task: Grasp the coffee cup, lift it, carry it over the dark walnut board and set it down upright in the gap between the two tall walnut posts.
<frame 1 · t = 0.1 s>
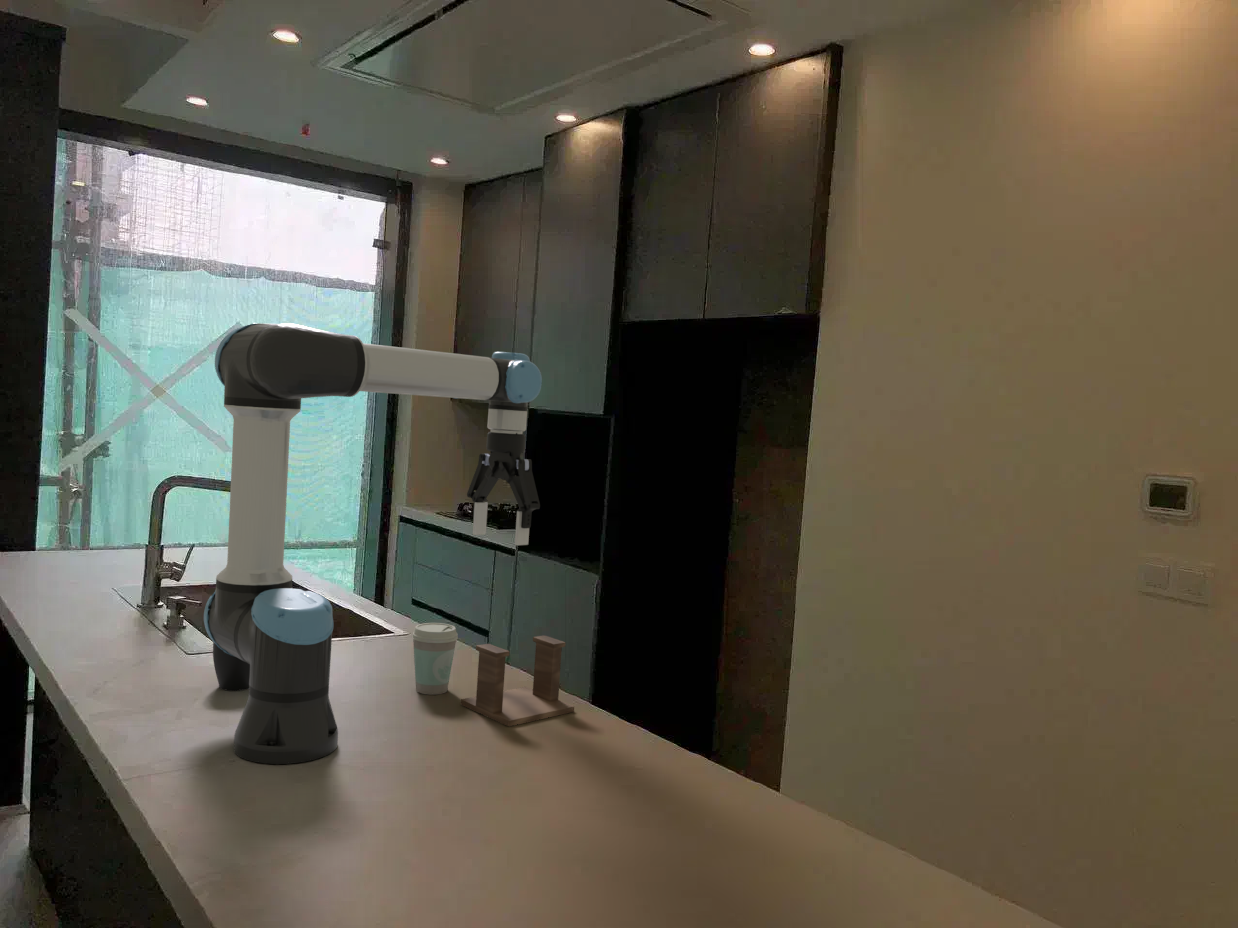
hand: (499, 539, 192), 28 cm above the table, fingers open, 13 cm apart
mug: (245, 685, 179), on the table
headboard cradle: (517, 708, 177), on the table
coffee cup: (431, 691, 184), on the table
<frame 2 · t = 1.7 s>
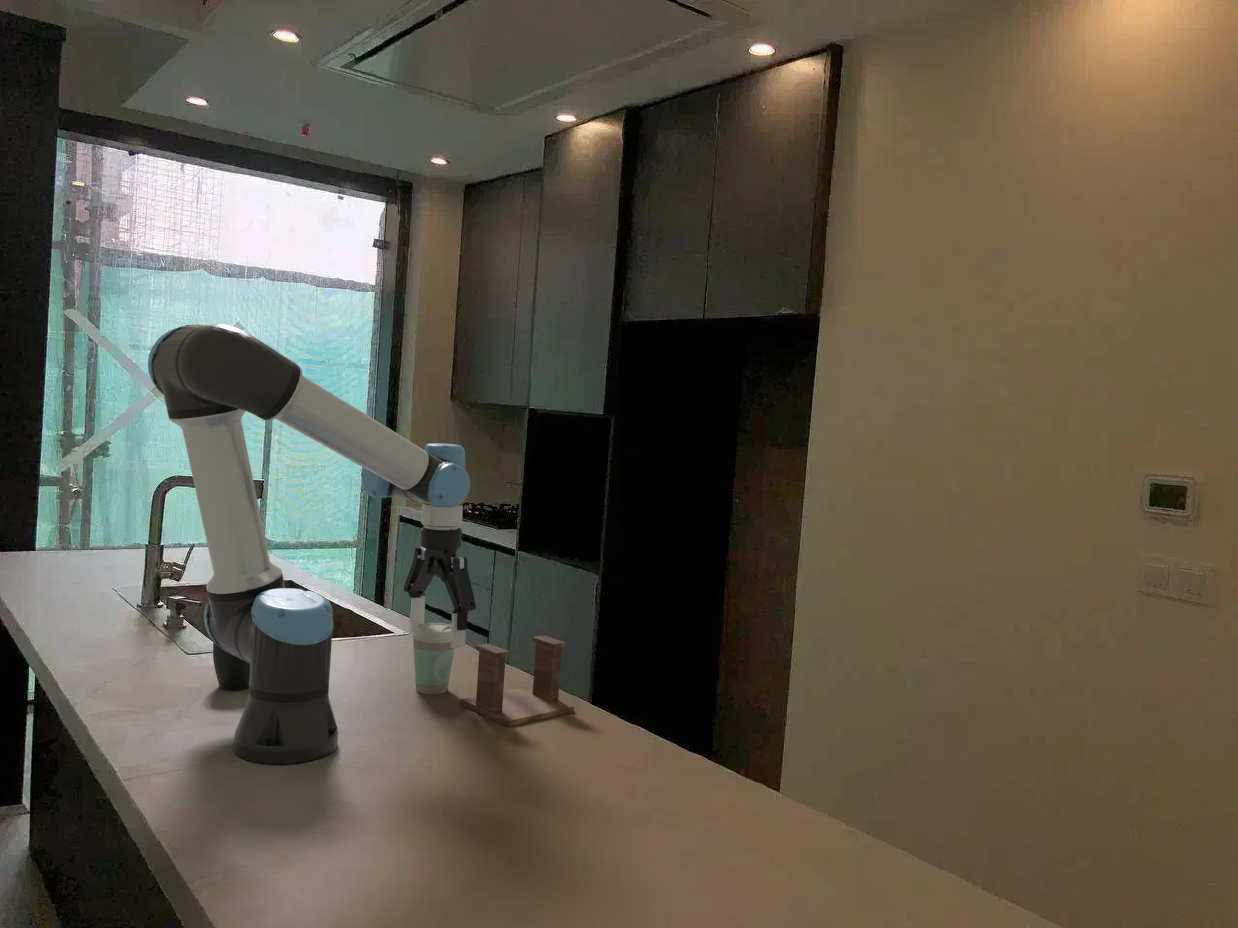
hand: (436, 638, 183), 10 cm above the table, fingers open, 13 cm apart
nothing on the table moved.
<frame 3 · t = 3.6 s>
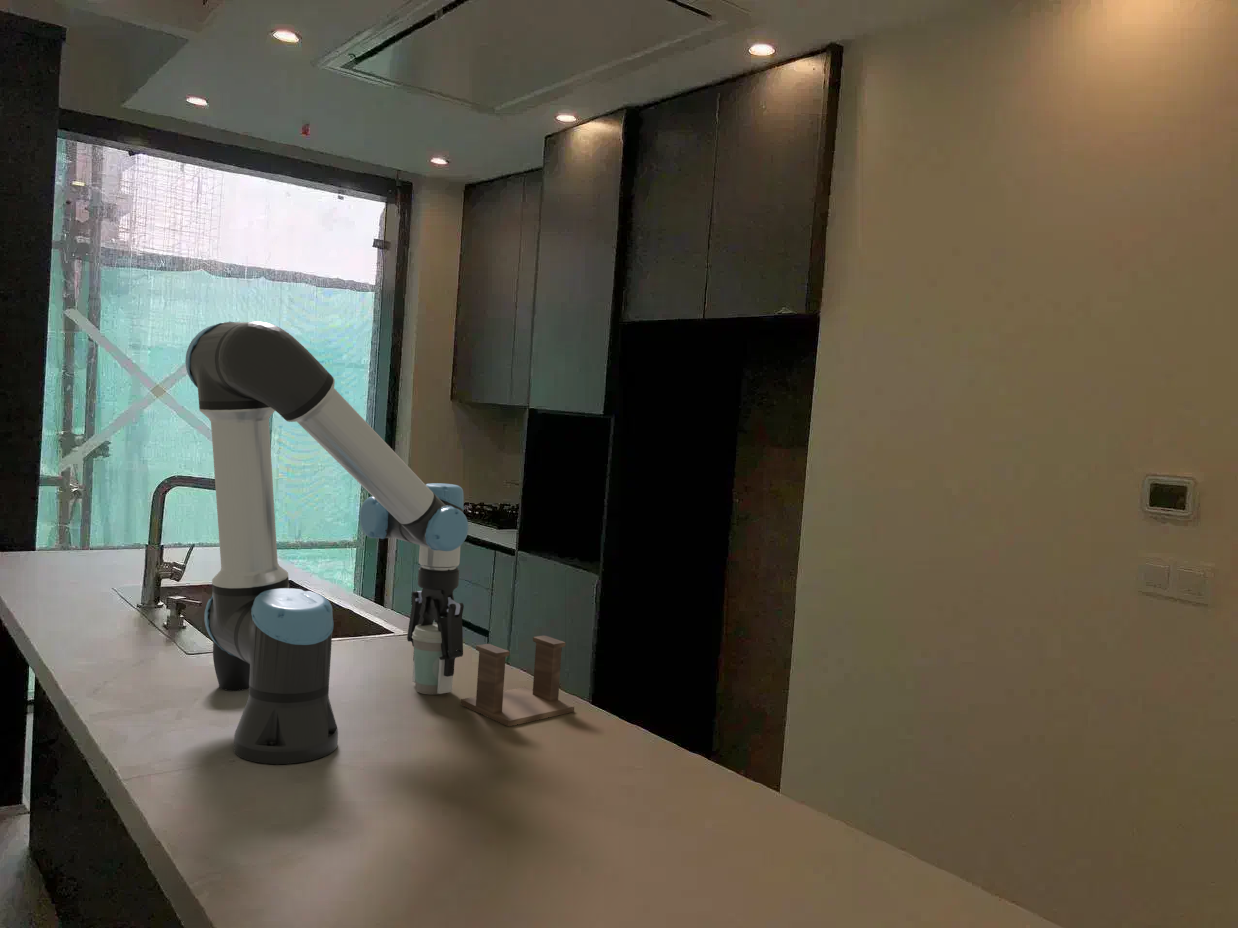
hand: (431, 686, 184), 1 cm above the table, fingers closed on coffee cup, 8 cm apart
coffee cup: (431, 691, 184), on the table, touching gripper
everything else where it was.
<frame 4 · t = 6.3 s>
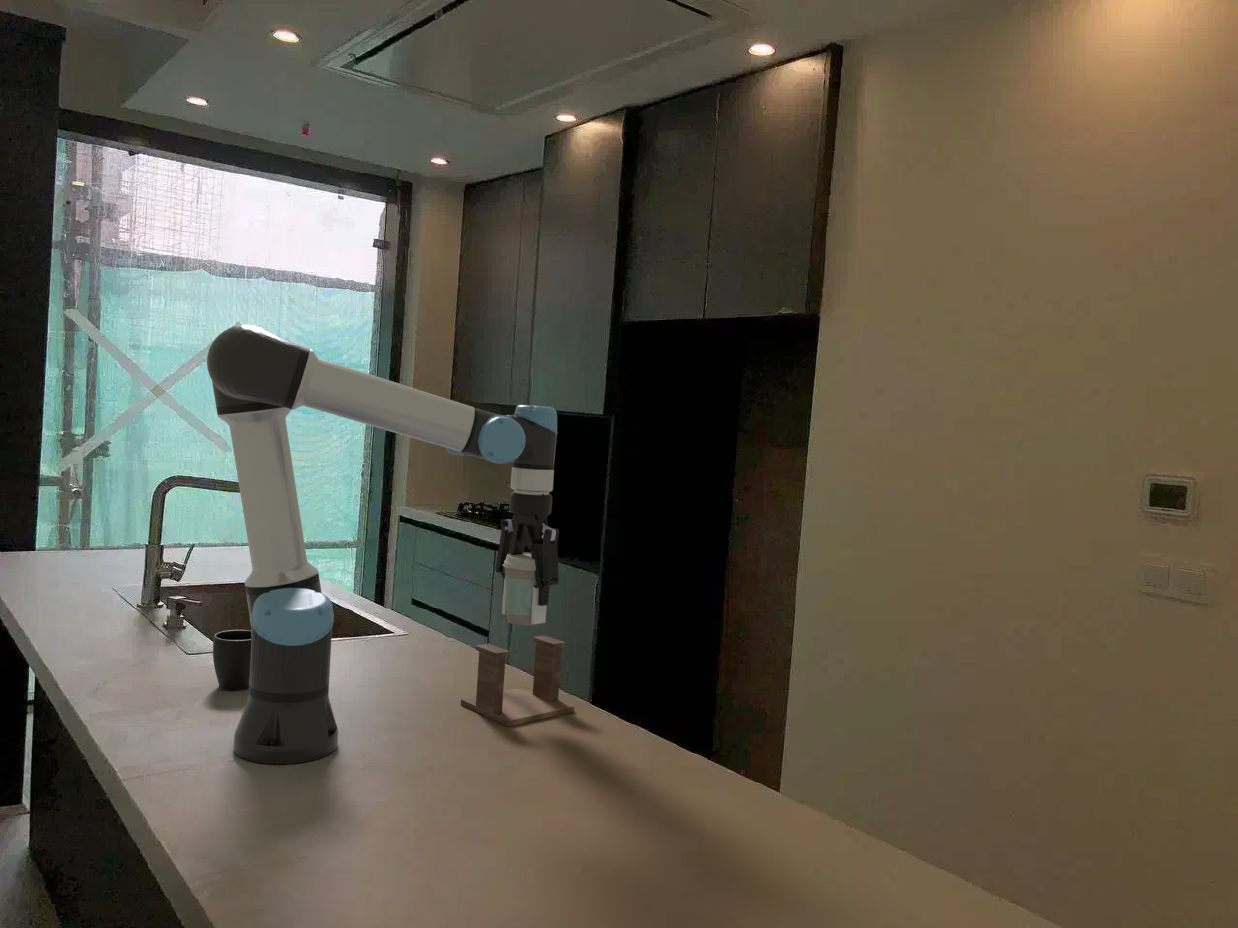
hand: (523, 618, 176), 17 cm above the table, fingers closed on coffee cup, 8 cm apart
coffee cup: (523, 622, 176), point 16 cm above the table, touching gripper
everything else where it was.
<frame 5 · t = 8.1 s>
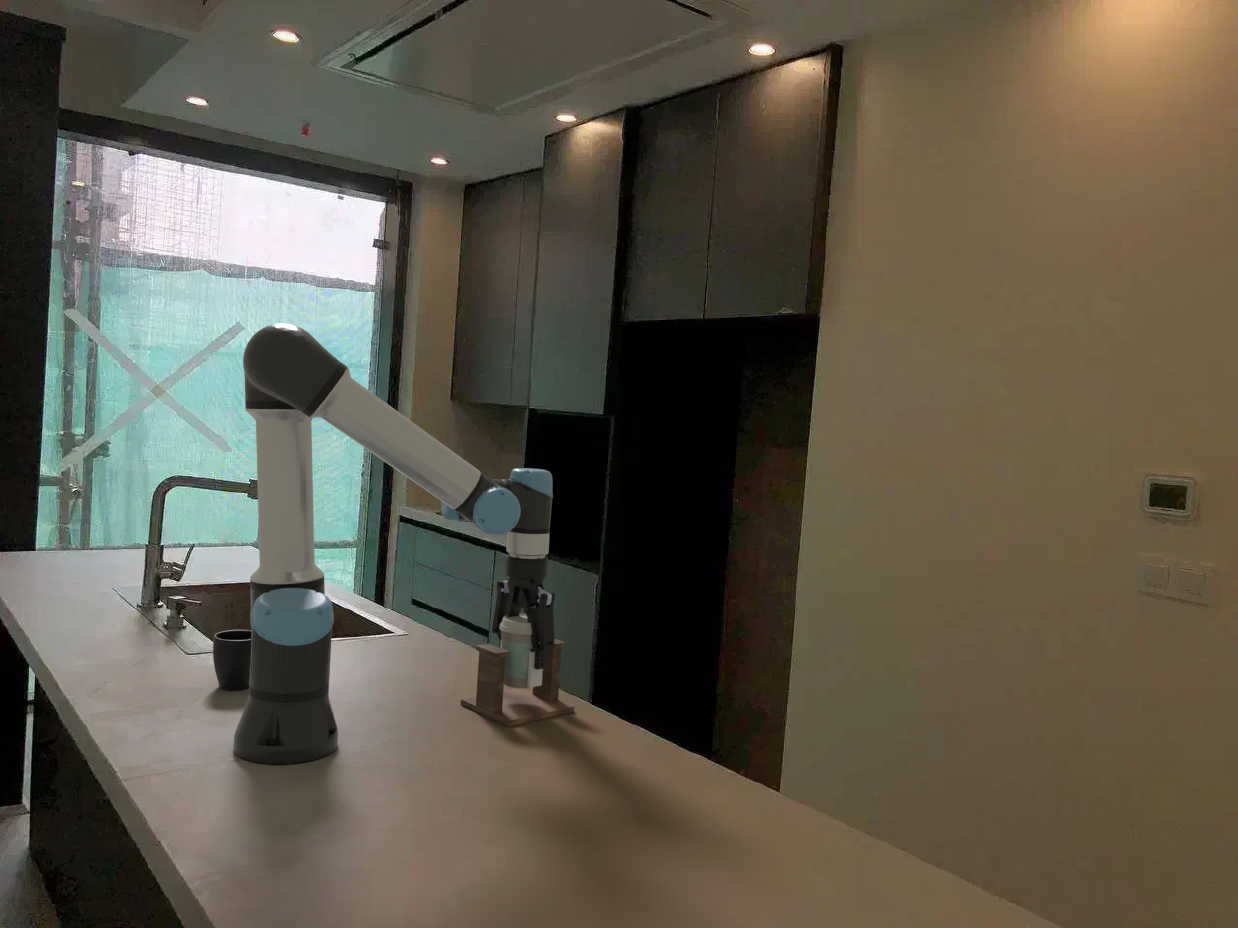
hand: (519, 679, 176), 5 cm above the table, fingers closed on coffee cup, 8 cm apart
coffee cup: (519, 684, 176), point 4 cm above the table, touching gripper
everything else where it was.
when the fingers open (3 cm above the table, at t = 9.4 s): coffee cup drops 1 cm, resting on headboard cradle.
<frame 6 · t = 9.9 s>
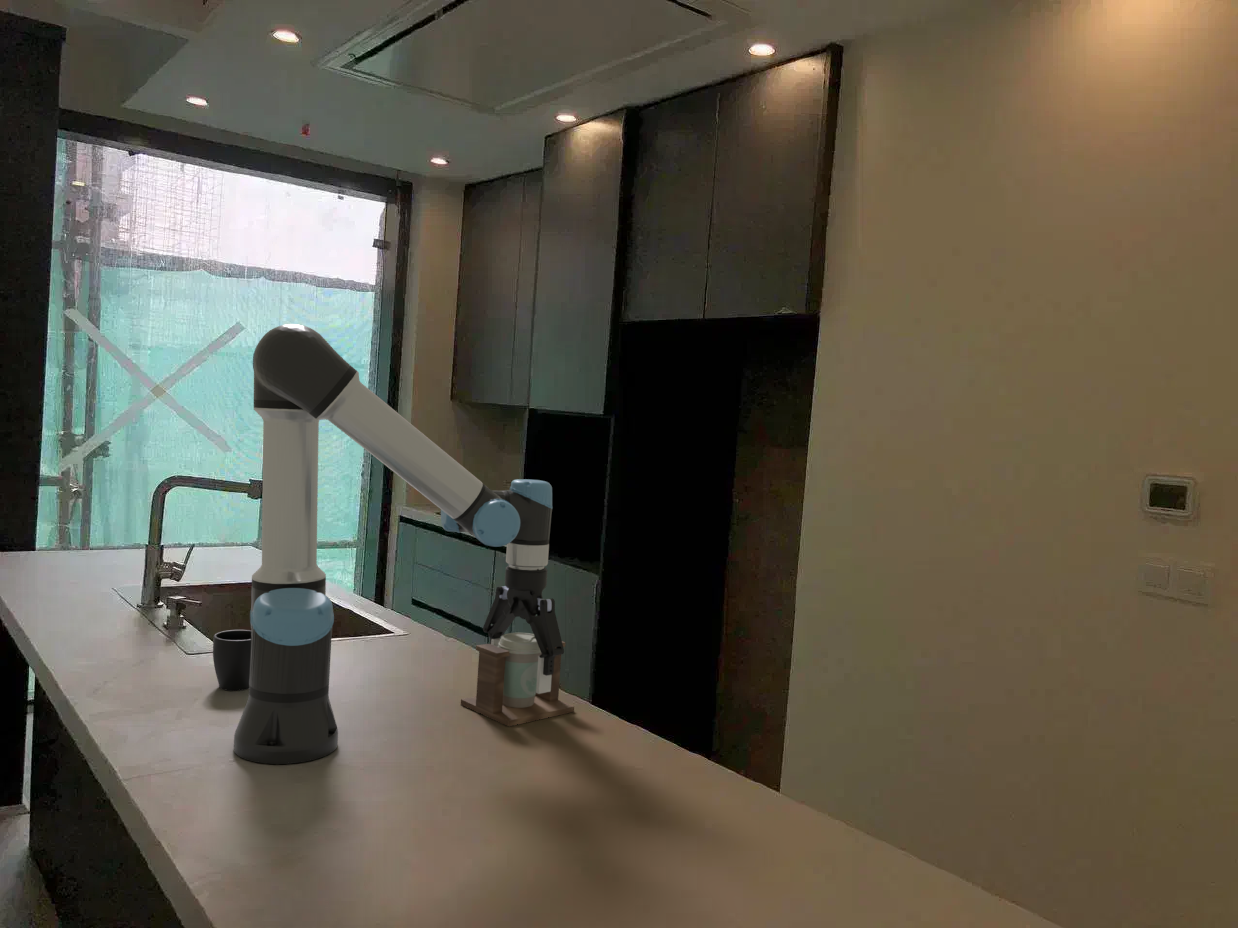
hand: (519, 682, 176), 5 cm above the table, fingers open, 13 cm apart
coffee cup: (517, 703, 176), point 1 cm above the table, touching headboard cradle
everything else where it was.
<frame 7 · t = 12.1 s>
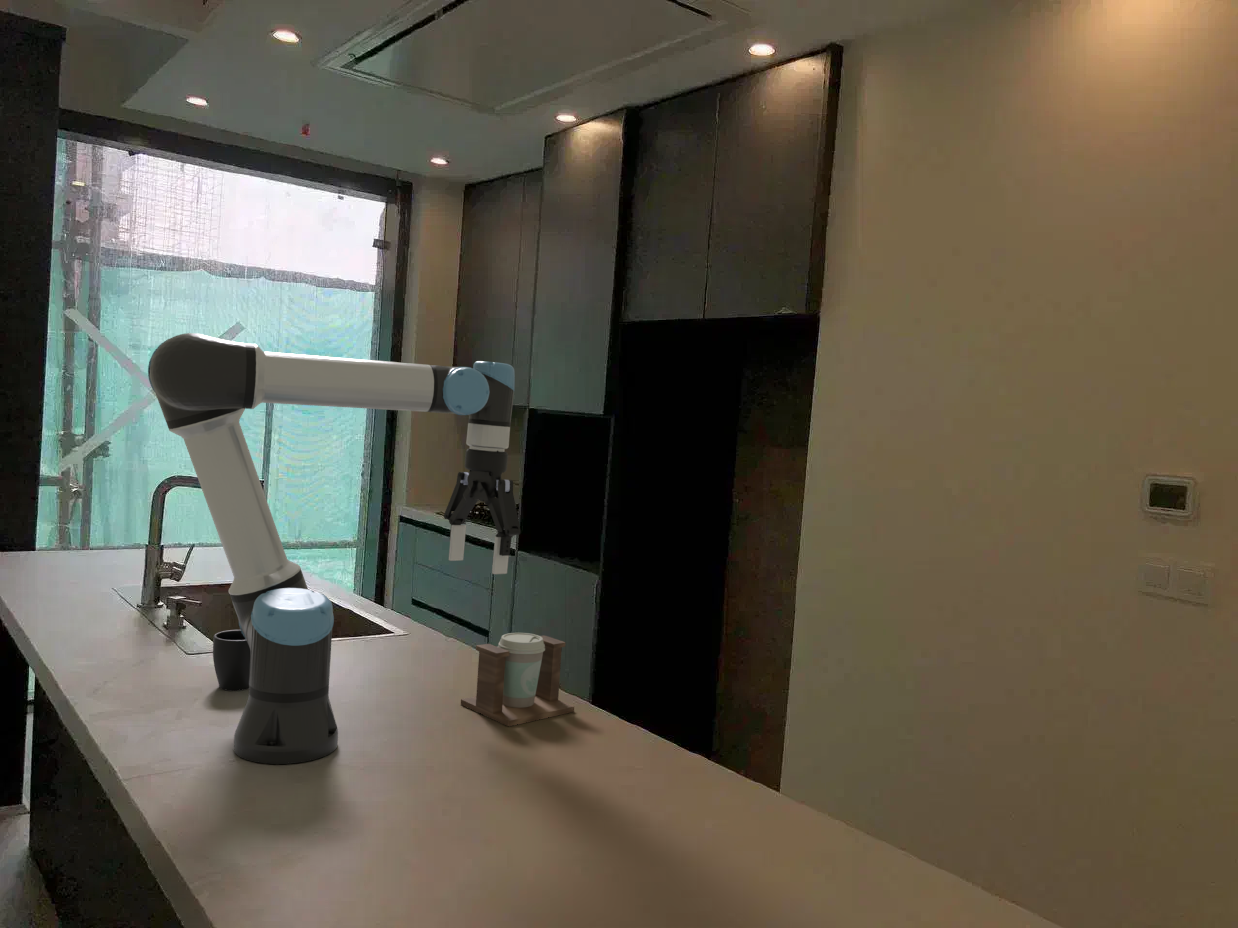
hand: (477, 566, 175), 25 cm above the table, fingers open, 13 cm apart
nothing on the table moved.
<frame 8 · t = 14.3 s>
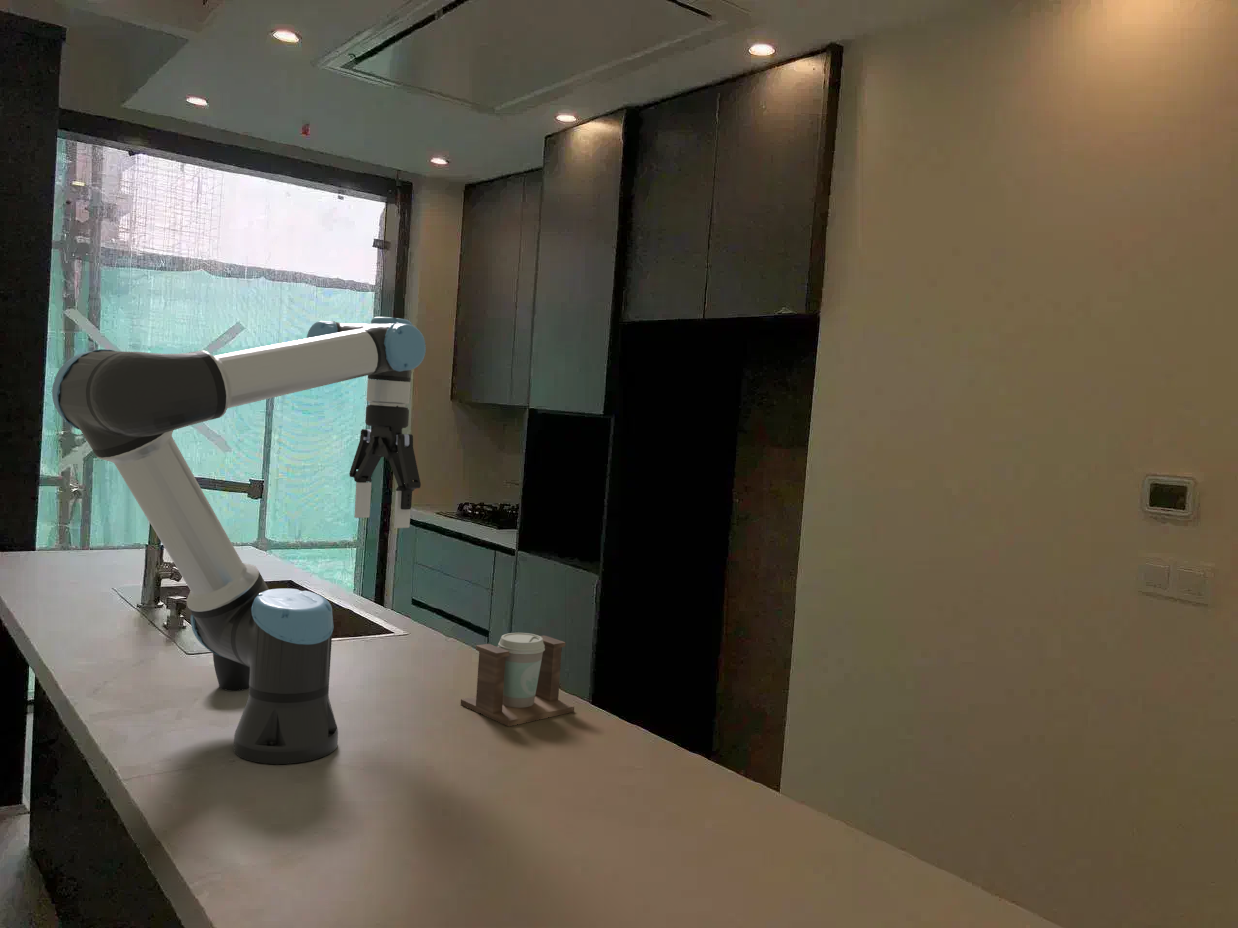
hand: (381, 522, 176), 32 cm above the table, fingers open, 13 cm apart
nothing on the table moved.
at the end: coffee cup inside the target area on the headboard cradle (0.1 cm from its centre), point 0.8 cm above the headboard cradle's base; coffee cup tilted 0°; the gripper is holding nothing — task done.
